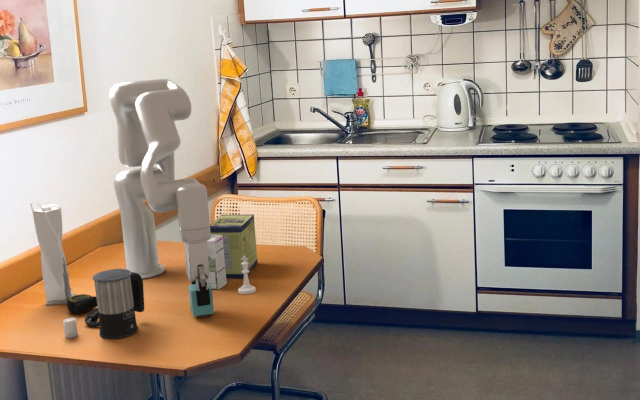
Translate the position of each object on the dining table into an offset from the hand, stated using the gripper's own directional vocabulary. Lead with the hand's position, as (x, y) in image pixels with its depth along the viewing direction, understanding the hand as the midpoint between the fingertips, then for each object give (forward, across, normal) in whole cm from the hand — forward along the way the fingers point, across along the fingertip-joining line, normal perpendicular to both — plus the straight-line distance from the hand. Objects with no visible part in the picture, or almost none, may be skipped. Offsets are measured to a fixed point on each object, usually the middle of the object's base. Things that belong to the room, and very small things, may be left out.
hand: (201, 299), depth 206 cm
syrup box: (+4, -22, +6) cm, 23 cm away
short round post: (+4, +1, -32) cm, 32 cm away
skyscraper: (+4, -29, -36) cm, 46 cm away
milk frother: (+5, 0, -23) cm, 23 cm away
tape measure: (+5, -17, -29) cm, 34 cm away
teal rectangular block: (+3, 0, 0) cm, 3 cm away
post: (+4, 0, 0) cm, 4 cm away
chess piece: (+4, -14, +14) cm, 20 cm away
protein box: (+5, -34, +14) cm, 37 cm away
